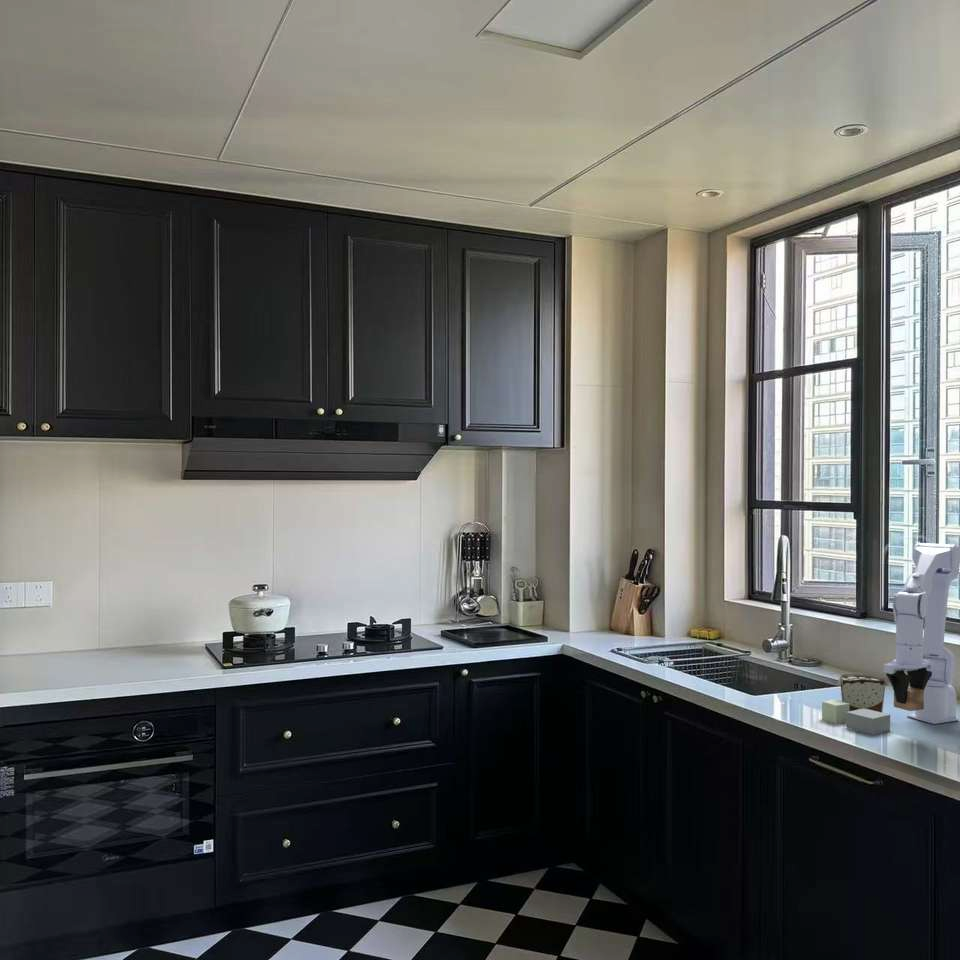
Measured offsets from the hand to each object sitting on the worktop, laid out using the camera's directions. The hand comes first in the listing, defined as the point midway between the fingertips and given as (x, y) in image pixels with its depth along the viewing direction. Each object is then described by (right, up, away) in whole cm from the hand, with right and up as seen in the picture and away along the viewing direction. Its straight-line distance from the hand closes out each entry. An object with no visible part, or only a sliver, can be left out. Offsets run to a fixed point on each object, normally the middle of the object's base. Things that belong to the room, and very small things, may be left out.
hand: (908, 701), depth 213 cm
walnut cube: (0, -2, 0) cm, 2 cm away
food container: (-4, -8, +19) cm, 21 cm away
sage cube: (-12, -8, +13) cm, 19 cm away
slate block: (-7, -8, +5) cm, 12 cm away
